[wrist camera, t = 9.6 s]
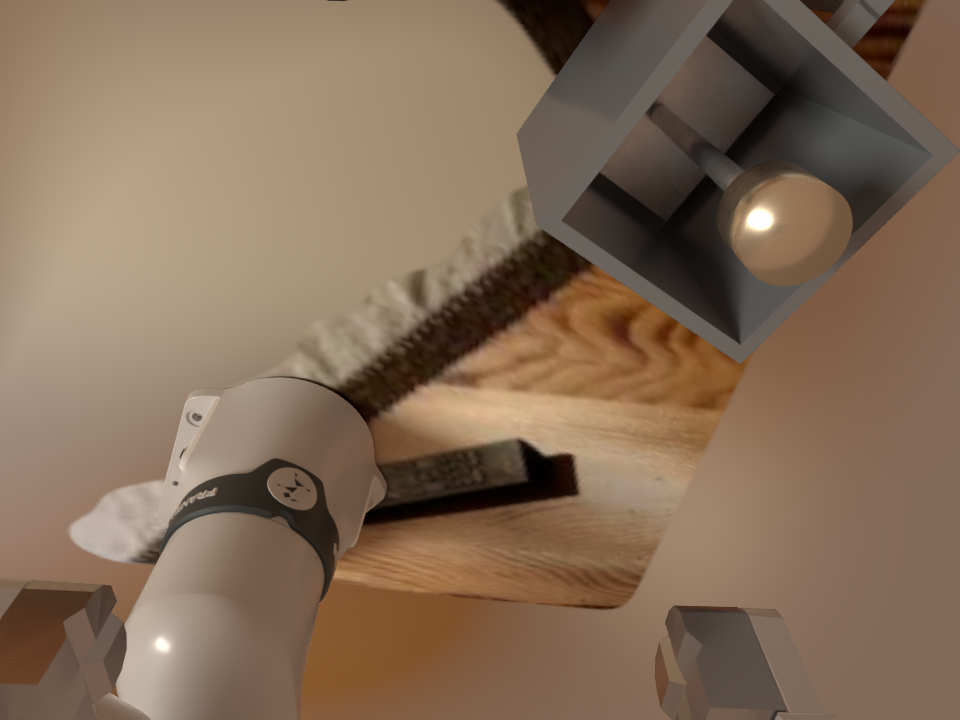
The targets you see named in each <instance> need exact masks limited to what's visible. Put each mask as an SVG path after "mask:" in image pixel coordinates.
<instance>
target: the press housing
mask: <svg viewBox="0 0 960 720" xmlns="http://www.w3.org/2000/svg"><path fill="white" fill-rule="evenodd" d="M894 1H895V0H610V1H609V2H608V4H607V5H606V7H605V8H604V9H603V11H602V12H601V14H600V15H599V17H598V18H597V19H596V21H595V22H594V24H593V25H592V27H591V28H590V29H589V31H588V32H587V34H586V35H585V37H584V38H583V39H582V41H581V42H580V44H579V45H578V47H577V48H576V49H575V51H574V52H573V54H572V55H571V57H570V58H569V60H568V61H567V62H566V64H565V65H564V67H563V68H562V70H561V71H560V72H559V74H558V75H557V77H556V78H555V80H554V81H553V82H552V84H551V85H550V87H549V88H548V90H547V91H546V93H545V94H544V95H543V97H542V98H541V100H540V101H539V102H538V104H537V105H536V107H535V108H534V110H533V111H532V113H531V114H530V115H529V117H528V118H527V120H526V121H525V122H524V124H523V125H522V127H521V128H520V130H519V131H518V133H517V139H518V143H519V147H520V152H521V156H522V161H523V166H524V170H525V175H526V179H527V184H528V189H529V193H530V198H531V202H532V207H533V212H534V216H535V221H536V225H537V226H539V227H540V228H542V229H543V230H545V231H546V232H548V233H549V234H550V235H552V236H553V237H555V238H556V239H558V240H559V241H561V242H562V243H564V244H565V245H567V246H568V247H570V248H571V249H572V250H574V251H575V252H577V253H578V254H580V255H581V256H583V257H584V258H586V259H587V260H589V261H590V262H591V263H593V264H594V265H596V266H597V267H599V268H600V269H602V270H603V271H605V272H606V273H608V274H609V275H611V276H612V277H613V278H615V279H616V280H618V281H619V282H621V283H622V284H624V285H625V286H627V287H628V288H630V289H631V290H633V291H634V292H635V293H637V294H638V295H640V296H641V297H643V298H644V299H646V300H647V301H649V302H650V303H652V304H653V305H654V306H656V307H657V308H659V309H660V310H662V311H663V312H665V313H666V314H668V315H669V316H671V317H672V318H674V319H675V320H676V321H678V322H679V323H681V324H682V325H684V326H685V327H687V328H688V329H690V330H691V331H693V332H694V333H696V334H697V335H698V336H700V337H701V338H703V339H704V340H706V341H707V342H709V343H710V344H712V345H713V346H715V347H716V348H717V349H719V350H720V351H722V352H723V353H725V354H726V355H728V356H729V357H731V358H732V359H734V360H735V361H737V362H738V363H739V364H741V363H742V362H743V361H744V360H745V359H746V358H747V357H748V356H749V355H750V354H751V353H752V352H753V351H754V350H755V349H756V348H757V347H758V346H759V345H760V344H762V342H764V341H765V340H766V339H767V338H768V337H769V336H770V335H771V334H772V333H773V332H774V331H775V330H776V329H777V328H778V327H779V326H780V325H781V324H782V323H783V322H784V321H785V320H786V319H787V318H788V317H789V316H790V315H791V314H792V313H794V312H795V311H796V310H797V309H798V308H799V307H800V306H801V305H802V304H803V303H804V302H805V301H806V300H807V299H808V298H809V297H810V296H811V295H812V294H813V293H814V292H815V291H816V290H817V289H818V288H819V287H820V286H821V285H822V284H823V283H824V282H825V281H826V280H828V279H829V277H831V276H832V274H834V273H835V272H836V271H837V269H839V268H840V267H841V266H842V265H843V264H844V263H845V262H846V261H847V260H848V259H849V258H850V257H851V256H852V255H853V254H854V253H855V252H856V251H857V250H859V249H860V248H861V247H862V246H863V245H864V244H865V243H866V242H867V241H868V240H869V239H870V238H871V237H872V236H873V235H874V234H875V233H876V232H877V231H878V230H879V229H880V228H881V227H882V226H883V225H884V224H885V223H886V222H887V221H888V220H889V219H891V218H892V216H894V215H895V214H896V213H897V212H898V211H899V210H900V209H901V208H902V207H903V205H905V204H906V203H907V202H908V201H909V200H910V199H911V198H912V197H913V196H914V195H915V194H916V193H917V192H918V191H919V190H920V189H921V188H922V187H924V186H925V184H927V183H928V182H929V181H930V180H931V178H933V177H934V176H935V175H936V174H937V173H938V172H939V171H940V170H941V169H942V168H943V167H944V166H945V165H946V164H947V163H948V162H949V161H950V160H951V159H952V158H953V157H954V156H955V155H956V154H957V153H959V151H960V150H959V149H958V148H957V147H956V146H955V145H954V144H953V143H952V142H951V141H950V140H949V139H947V138H946V137H945V136H944V135H943V134H942V133H941V132H940V131H939V130H938V129H937V128H936V127H935V126H934V125H933V124H931V123H930V122H929V121H928V120H927V119H926V118H925V117H924V116H923V115H922V114H921V113H920V112H919V111H917V110H916V109H915V108H914V107H913V106H912V105H911V104H910V103H909V102H908V101H907V100H906V99H905V98H904V97H902V96H901V95H900V94H899V93H898V92H897V91H896V90H895V89H894V88H893V87H892V86H891V85H890V84H889V83H888V82H887V81H885V80H884V79H883V78H882V77H881V76H880V75H879V74H878V73H877V72H876V71H875V70H874V69H873V68H872V67H871V66H869V65H868V64H867V63H866V62H865V61H864V60H863V59H862V58H861V57H860V56H859V55H858V54H857V53H856V52H854V51H853V50H852V48H853V47H854V46H855V45H856V44H857V43H858V41H859V40H860V39H861V38H862V37H863V36H864V35H865V34H866V32H867V31H868V30H869V29H870V28H871V27H872V26H873V25H874V23H875V22H876V21H877V20H878V19H879V18H880V17H881V15H882V14H883V13H884V12H885V11H886V10H887V9H888V8H889V6H890V5H891V4H892V3H893V2H894ZM810 9H813V10H819V11H825V12H830V13H834V14H833V15H832V17H831V18H830V19H829V20H828V21H827V22H826V24H825V23H823V22H822V21H821V20H820V19H819V18H818V17H817V16H816V15H815V14H814V13H813V12H812V11H811V10H810ZM705 36H707V37H708V38H709V39H711V40H712V41H713V42H714V43H715V44H716V45H718V46H719V47H720V48H721V49H722V50H723V51H725V52H726V53H727V54H728V55H729V56H730V57H731V58H733V59H734V60H735V61H736V62H737V63H738V64H740V65H741V66H742V67H743V68H744V69H745V70H747V71H748V72H749V73H750V74H751V75H752V76H753V77H755V78H756V79H757V80H758V81H759V82H760V83H762V84H763V85H764V86H765V87H766V88H767V89H769V90H770V91H771V92H772V93H773V94H774V96H773V97H772V98H771V99H770V101H769V102H768V103H767V104H766V105H765V106H764V108H763V109H762V110H761V111H760V112H759V113H758V115H757V116H756V117H755V118H754V119H753V120H752V121H751V123H750V124H749V125H748V126H747V127H746V128H745V130H744V131H743V132H742V133H741V134H740V135H739V137H738V138H737V139H736V140H735V141H734V142H733V144H732V145H731V146H730V147H729V148H728V149H727V151H726V152H725V153H724V154H725V155H726V156H727V157H728V158H729V159H731V160H732V161H733V162H734V163H736V164H737V165H738V166H739V167H740V168H742V169H743V170H744V171H745V170H747V169H748V168H750V167H752V166H754V165H757V164H760V163H763V162H767V161H774V160H781V161H788V162H791V163H794V164H797V165H799V166H800V167H802V168H803V169H805V170H806V171H808V172H809V173H811V174H812V175H814V176H815V177H817V178H818V179H820V180H821V181H823V182H824V183H826V184H827V185H829V186H830V187H832V188H833V189H835V190H836V191H838V192H839V193H840V194H841V195H842V196H843V197H844V198H845V200H846V201H847V202H848V205H849V207H850V209H851V213H852V220H853V224H852V232H851V236H850V240H849V242H848V244H847V247H846V249H845V250H844V252H843V254H842V255H841V256H840V258H839V259H838V260H837V261H836V262H835V263H834V265H833V266H831V267H830V268H829V269H828V270H827V271H825V272H824V273H823V274H821V275H820V276H818V277H816V278H814V279H812V280H810V281H808V282H805V283H802V284H798V285H793V286H775V285H771V284H767V283H765V282H762V281H760V280H759V279H757V278H756V277H755V276H754V275H752V274H751V272H750V271H749V270H748V269H747V268H746V267H745V265H744V264H743V263H742V262H741V261H740V260H739V258H738V257H737V256H736V255H735V254H734V253H733V251H732V250H731V249H730V248H729V247H728V245H727V244H726V243H725V242H724V241H723V239H722V237H721V236H720V233H719V231H718V227H717V210H718V205H719V202H720V200H721V198H722V195H723V193H724V191H723V190H722V189H721V188H720V187H719V186H718V185H717V184H716V183H715V182H714V181H713V180H712V179H711V178H710V177H709V176H708V175H707V174H706V175H705V176H704V177H703V178H702V180H701V181H700V182H699V183H698V184H697V185H696V187H695V188H694V189H693V190H692V191H691V192H690V193H689V195H688V196H687V197H686V198H685V199H684V200H683V202H682V203H681V204H680V205H679V206H678V207H677V209H676V210H675V211H674V212H673V213H672V214H671V216H670V217H669V218H668V219H667V220H666V221H665V220H664V219H662V218H661V217H660V216H658V215H657V214H656V213H654V212H653V211H652V210H650V209H649V208H648V207H646V206H645V205H643V204H642V203H641V202H639V201H638V200H637V199H635V198H634V197H633V196H631V195H630V194H629V193H627V192H626V191H624V190H623V189H622V188H620V187H619V186H618V185H616V184H615V183H614V182H612V181H611V180H609V179H608V178H607V177H605V176H604V175H603V174H601V173H600V170H601V169H602V168H603V166H604V165H605V164H606V163H607V161H608V160H609V159H610V157H611V156H612V155H613V154H614V152H615V151H616V150H617V148H618V147H619V146H620V145H621V143H622V142H623V141H624V140H625V138H626V137H627V136H628V134H629V133H630V132H631V131H632V129H633V128H634V127H635V125H636V124H637V123H638V122H639V120H640V119H641V118H642V116H643V115H644V114H645V113H646V111H647V110H648V109H649V107H650V106H651V105H652V104H653V102H654V101H655V100H656V99H657V97H658V96H659V95H660V93H661V92H662V91H663V90H664V88H665V87H666V86H667V84H668V83H669V82H670V81H671V79H672V78H673V77H674V75H675V74H676V73H677V72H678V70H679V69H680V68H681V66H682V65H683V64H684V63H685V61H686V60H687V59H688V57H689V56H690V55H691V54H692V52H693V51H694V50H695V49H696V47H697V46H698V45H699V43H700V42H701V41H702V40H703V38H704V37H705Z"/></svg>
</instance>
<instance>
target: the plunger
mask: <svg viewBox="0 0 960 720" xmlns="http://www.w3.org/2000/svg"><path fill="white" fill-rule="evenodd" d="M773 96H774V94H773V93H772V92H771V91H770V90H769V89H767V88H766V87H765V86H764V85H763V84H762V83H760V82H759V81H758V80H757V79H756V78H755V77H753V76H752V75H751V74H750V73H749V72H748V71H747V70H745V69H744V68H743V67H742V66H741V65H740V64H738V63H737V62H736V61H735V60H734V59H733V58H731V57H730V56H729V55H728V54H727V53H726V52H725V51H723V50H722V49H721V48H720V47H719V46H718V45H716V44H715V43H714V42H713V41H712V40H711V39H709V38H708V37H707V36H705V37H704V38H703V40H702V41H701V42H700V43H699V45H698V46H697V47H696V49H695V50H694V51H693V52H692V54H691V55H690V56H689V57H688V59H687V60H686V61H685V63H684V64H683V65H682V66H681V68H680V69H679V70H678V72H677V73H676V74H675V75H674V77H673V78H672V79H671V81H670V82H669V83H668V84H667V86H666V87H665V88H664V90H663V91H662V92H661V93H660V95H659V96H658V97H657V99H656V100H655V101H654V102H653V104H652V105H651V106H650V107H649V109H648V110H647V111H646V113H645V114H644V115H643V116H642V118H641V119H640V120H639V122H638V123H637V124H636V125H635V127H634V128H633V129H632V131H631V132H630V133H629V134H628V136H627V137H626V138H625V140H624V141H623V142H622V143H621V145H620V146H619V147H618V148H617V150H616V151H615V152H614V154H613V155H612V156H611V157H610V159H609V160H608V161H607V163H606V164H605V165H604V166H603V168H602V169H601V170H600V173H601V174H603V175H604V176H605V177H607V178H608V179H609V180H611V181H612V182H614V183H615V184H616V185H618V186H619V187H620V188H622V189H623V190H624V191H626V192H627V193H629V194H630V195H631V196H633V197H634V198H635V199H637V200H638V201H639V202H641V203H642V204H643V205H645V206H646V207H648V208H649V209H650V210H652V211H653V212H654V213H656V214H657V215H658V216H660V217H661V218H662V219H664V220H665V221H666V220H667V219H668V218H669V217H670V216H671V214H672V213H673V212H674V211H675V210H676V209H677V207H678V206H679V205H680V204H681V203H682V202H683V200H684V199H685V198H686V197H687V196H688V195H689V193H690V192H691V191H692V190H693V189H694V188H695V187H696V185H697V184H698V183H699V182H700V181H701V180H702V178H703V177H704V176H705V175H706V174H707V175H708V176H709V177H710V178H711V179H712V180H713V181H714V182H715V183H716V184H717V185H718V186H719V187H720V188H721V189H722V190H723V191H724V193H723V195H722V198H721V200H720V202H719V205H718V210H717V227H718V231H719V233H720V236H721V237H722V239H723V241H724V242H725V243H726V244H727V245H728V247H729V248H730V249H731V250H732V251H733V253H734V254H735V255H736V256H737V257H738V258H739V260H740V261H741V262H742V263H743V264H744V265H745V267H746V268H747V269H748V270H749V271H750V272H751V274H752V275H754V276H755V277H756V278H757V279H759V280H760V281H762V282H765V283H767V284H771V285H775V286H793V285H798V284H802V283H805V282H808V281H810V280H812V279H814V278H816V277H818V276H820V275H821V274H823V273H824V272H825V271H827V270H828V269H829V268H830V267H831V266H833V265H834V263H835V262H836V261H837V260H838V259H839V258H840V256H841V255H842V254H843V252H844V250H845V249H846V247H847V244H848V242H849V240H850V236H851V232H852V224H853V220H852V213H851V209H850V207H849V205H848V202H847V201H846V200H845V198H844V197H843V196H842V195H841V194H840V193H839V192H838V191H836V190H835V189H833V188H832V187H830V186H829V185H827V184H826V183H824V182H823V181H821V180H820V179H818V178H817V177H815V176H814V175H812V174H811V173H809V172H808V171H806V170H805V169H803V168H802V167H800V166H799V165H797V164H794V163H791V162H788V161H781V160H774V161H767V162H763V163H760V164H757V165H754V166H752V167H750V168H748V169H747V170H745V171H744V170H743V169H742V168H740V167H739V166H738V165H737V164H736V163H734V162H733V161H732V160H731V159H729V158H728V157H727V156H726V155H725V154H724V153H725V152H726V151H727V149H728V148H729V147H730V146H731V145H732V144H733V142H734V141H735V140H736V139H737V138H738V137H739V135H740V134H741V133H742V132H743V131H744V130H745V128H746V127H747V126H748V125H749V124H750V123H751V121H752V120H753V119H754V118H755V117H756V116H757V115H758V113H759V112H760V111H761V110H762V109H763V108H764V106H765V105H766V104H767V103H768V102H769V101H770V99H771V98H772V97H773Z"/></svg>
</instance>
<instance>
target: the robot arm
mask: <svg viewBox="0 0 960 720" xmlns="http://www.w3.org/2000/svg"><path fill="white" fill-rule="evenodd" d="M195 413H198V414H200V415H201V416H202V417H200V416H197V415H196V414H195ZM386 491H387V483H386V481H385V479H384V477H383V475H382V474H381V472H380V471H379V469H378V467H377V466H376V462H375V455H374V444H373V439H372V436H371V433H370V431H369V428H368V426H367V424H366V423H365V421H364V420H363V418H362V417H361V415H360V414H359V413H358V412H357V411H356V409H355V408H354V407H353V406H352V405H351V404H349V403H348V402H347V401H346V400H344V399H343V398H342V397H340V396H339V395H337V394H336V393H334V392H332V391H331V390H328V389H326V388H324V387H322V386H320V385H317V384H314V383H311V382H308V381H304V380H299V379H294V378H282V377H274V378H264V379H258V380H254V381H250V382H247V383H244V384H242V385H239V386H236V387H233V388H229V389H198V390H195V391H192V392H191V393H190V394H189V396H188V398H187V401H186V403H185V406H184V410H183V414H182V418H181V422H180V425H179V429H178V433H177V437H176V440H175V445H174V448H173V452H172V456H171V460H170V464H169V467H168V471H167V475H166V479H165V483H164V486H163V490H162V494H161V498H160V502H159V506H158V510H157V515H158V517H159V518H160V519H161V521H162V522H163V523H164V524H165V525H166V526H167V527H166V529H165V533H164V535H163V539H162V542H161V547H160V558H159V560H158V562H157V564H156V565H155V567H154V569H153V571H152V573H151V575H150V577H149V579H148V581H147V583H146V585H145V587H144V588H143V590H142V592H141V594H140V596H139V598H138V600H137V602H136V604H135V606H134V608H133V610H132V612H131V614H130V616H129V618H128V620H127V621H126V623H125V625H124V623H123V622H122V621H121V620H120V619H119V618H117V617H116V616H115V615H113V614H112V613H111V611H112V609H113V608H114V605H115V604H116V602H117V600H116V597H115V595H114V592H113V589H112V587H111V586H110V585H99V584H82V583H68V582H52V581H37V580H16V579H0V720H300V711H301V695H302V686H303V678H304V671H305V667H306V662H307V657H308V653H309V648H310V643H311V639H312V634H313V629H314V625H315V620H316V616H317V611H318V607H319V603H320V602H321V600H322V599H323V598H324V596H325V594H326V593H327V591H328V588H329V585H330V582H331V581H332V579H333V576H334V573H335V569H336V565H337V560H339V559H341V558H342V557H343V555H344V554H345V552H346V551H347V550H348V549H349V548H353V547H354V546H355V544H356V543H357V540H358V538H359V534H360V531H361V527H362V524H363V520H364V517H365V513H367V512H368V511H369V510H370V509H372V508H373V507H374V506H375V505H377V504H378V503H379V502H380V501H382V500H383V498H384V497H385V494H386ZM665 623H666V626H667V630H668V633H669V636H667V637H666V638H664V639H663V640H661V641H660V642H659V646H658V650H657V654H656V660H655V679H656V687H657V693H658V698H659V702H660V706H661V709H662V710H663V711H664V712H665V713H666V714H667V715H668V716H669V717H670V718H671V719H672V720H844V719H843V718H842V717H840V716H839V715H838V714H827V711H826V709H825V707H824V705H823V703H822V701H821V699H820V696H819V694H818V692H817V690H816V688H815V686H814V684H813V682H812V680H811V677H810V675H809V673H808V671H807V669H806V667H805V665H804V662H803V660H802V658H801V656H800V654H799V652H798V650H797V648H796V645H795V643H794V641H793V639H792V637H791V635H790V633H789V631H788V629H787V626H786V624H785V622H784V620H783V618H782V616H781V615H780V614H779V613H778V612H777V611H776V610H775V609H752V608H740V609H739V608H737V607H707V606H673V607H672V608H671V609H670V610H669V613H668V616H667V619H666V622H665ZM115 683H116V687H117V693H118V697H119V698H118V697H116V696H115V695H113V694H111V693H109V692H110V691H111V690H113V688H114V686H115Z"/></svg>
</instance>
